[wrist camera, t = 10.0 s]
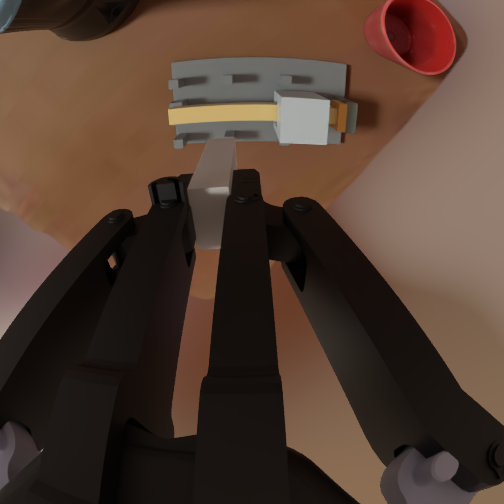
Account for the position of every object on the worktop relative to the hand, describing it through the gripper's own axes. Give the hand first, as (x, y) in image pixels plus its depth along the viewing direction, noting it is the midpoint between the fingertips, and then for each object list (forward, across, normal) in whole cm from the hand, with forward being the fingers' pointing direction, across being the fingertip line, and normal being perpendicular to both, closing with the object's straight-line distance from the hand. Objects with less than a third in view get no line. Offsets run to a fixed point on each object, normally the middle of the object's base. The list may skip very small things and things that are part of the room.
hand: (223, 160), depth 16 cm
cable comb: (+24, +3, 0) cm, 24 cm away
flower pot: (+25, +22, +12) cm, 35 cm away
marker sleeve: (+22, +7, -1) cm, 23 cm away
